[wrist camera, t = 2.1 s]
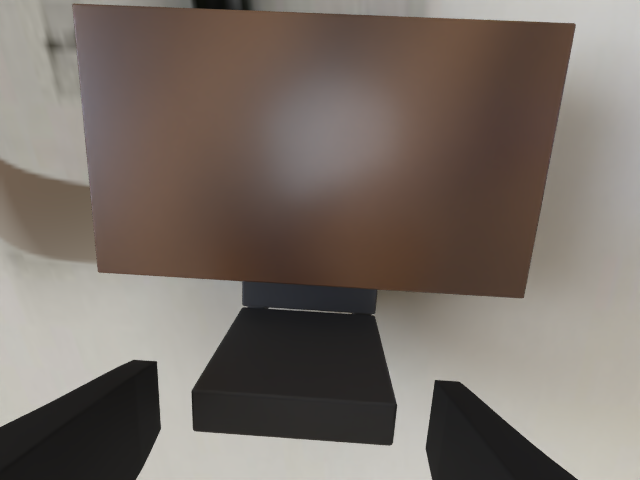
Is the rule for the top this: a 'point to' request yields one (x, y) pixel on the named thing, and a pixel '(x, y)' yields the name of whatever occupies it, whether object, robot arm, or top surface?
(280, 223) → the brown toy table
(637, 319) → the top surface
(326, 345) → the chair
